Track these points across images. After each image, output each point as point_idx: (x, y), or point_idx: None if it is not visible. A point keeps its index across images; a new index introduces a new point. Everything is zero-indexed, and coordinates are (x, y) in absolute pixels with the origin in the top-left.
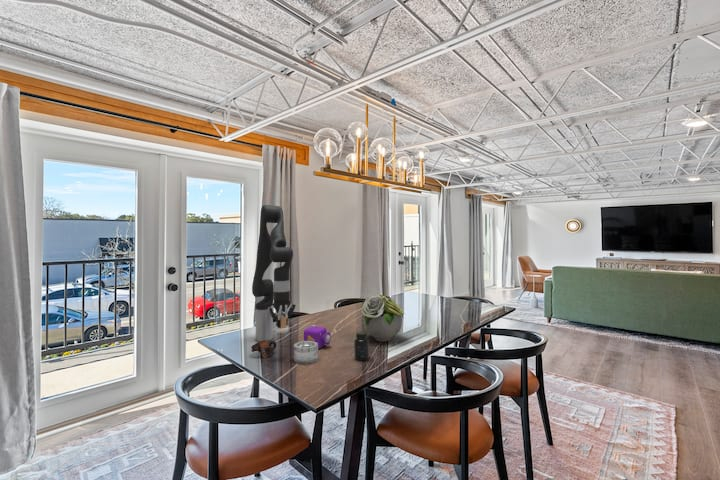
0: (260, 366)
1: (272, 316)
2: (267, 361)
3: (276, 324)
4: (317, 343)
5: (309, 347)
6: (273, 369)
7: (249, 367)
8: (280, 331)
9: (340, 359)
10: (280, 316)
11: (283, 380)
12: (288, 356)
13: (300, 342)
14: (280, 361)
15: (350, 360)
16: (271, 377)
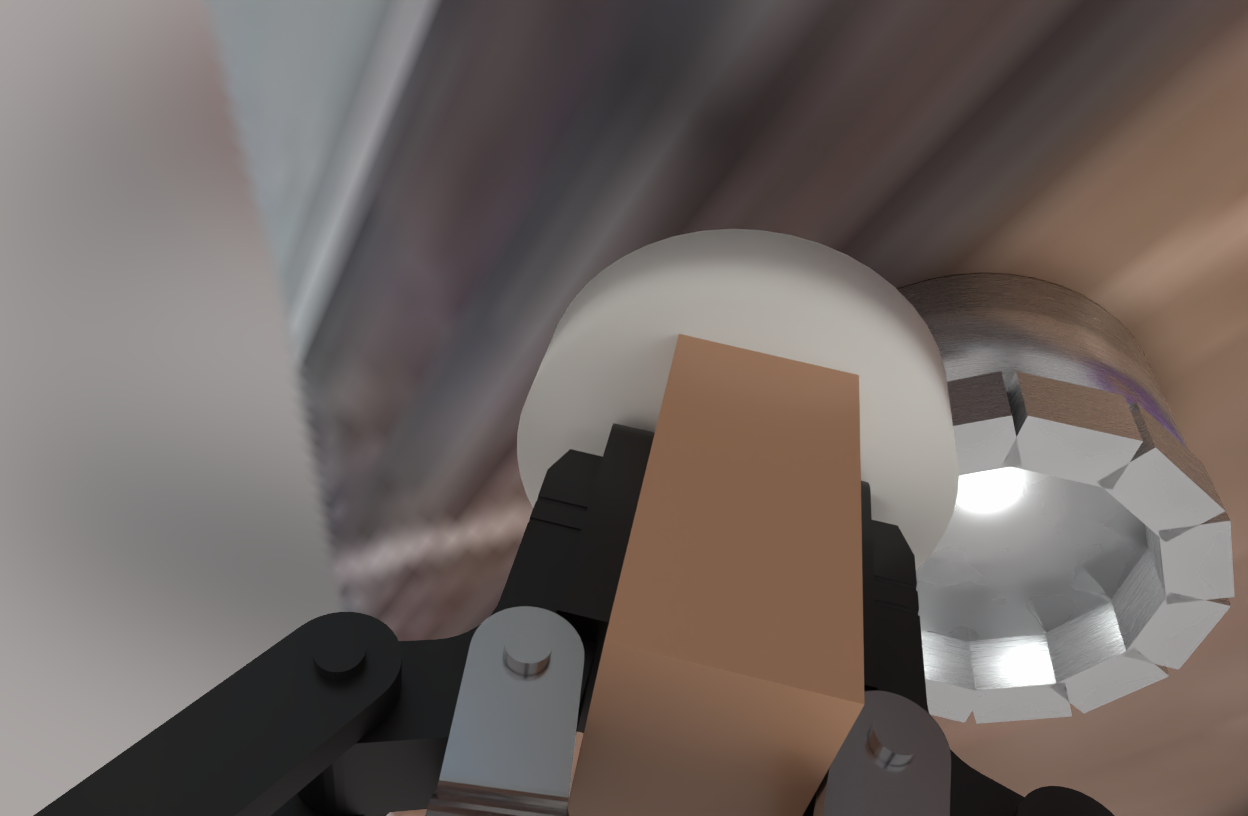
0: (366, 141)
1: (273, 703)
2: (534, 41)
3: (539, 501)
4: (1145, 681)
5: None
6: (459, 352)
7: (222, 47)
8: None
9: (1203, 699)
10: (630, 780)
11: (415, 598)
12: (918, 122)
13: (1042, 459)
14: (679, 205)
15: (1225, 774)
16: (352, 486)
